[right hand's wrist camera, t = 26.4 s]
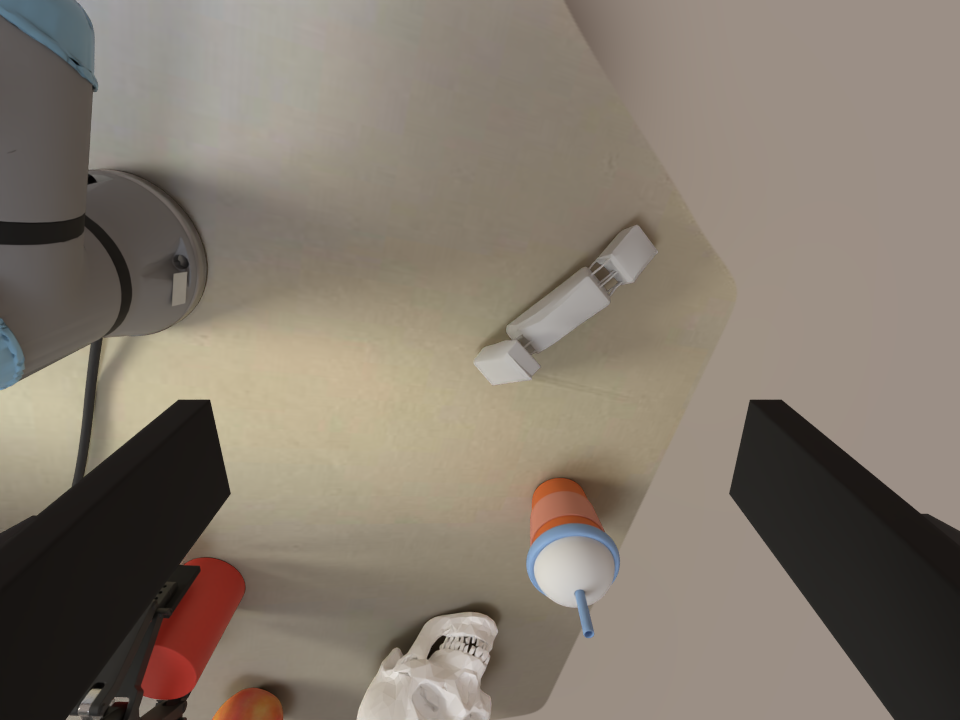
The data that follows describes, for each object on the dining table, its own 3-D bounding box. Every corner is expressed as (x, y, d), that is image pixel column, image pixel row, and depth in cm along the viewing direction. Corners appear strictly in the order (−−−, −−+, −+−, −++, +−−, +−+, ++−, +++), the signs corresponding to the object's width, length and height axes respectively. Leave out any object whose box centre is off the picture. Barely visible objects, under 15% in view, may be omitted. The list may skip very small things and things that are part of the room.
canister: (257, 577, 64) (210, 667, 53) (227, 617, 67) (176, 710, 56) (195, 546, 62) (133, 632, 51) (167, 588, 65) (102, 678, 54)
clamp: (493, 381, 53) (501, 408, 47) (469, 356, 52) (473, 380, 46) (645, 250, 50) (676, 259, 44) (623, 220, 49) (651, 225, 43)
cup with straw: (613, 488, 59) (666, 621, 42) (567, 542, 62) (600, 685, 45) (548, 453, 57) (576, 576, 40) (504, 509, 60) (513, 647, 43)
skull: (527, 626, 67) (536, 757, 52) (431, 716, 74) (415, 855, 59) (444, 577, 64) (428, 700, 50) (352, 674, 71) (315, 808, 56)
